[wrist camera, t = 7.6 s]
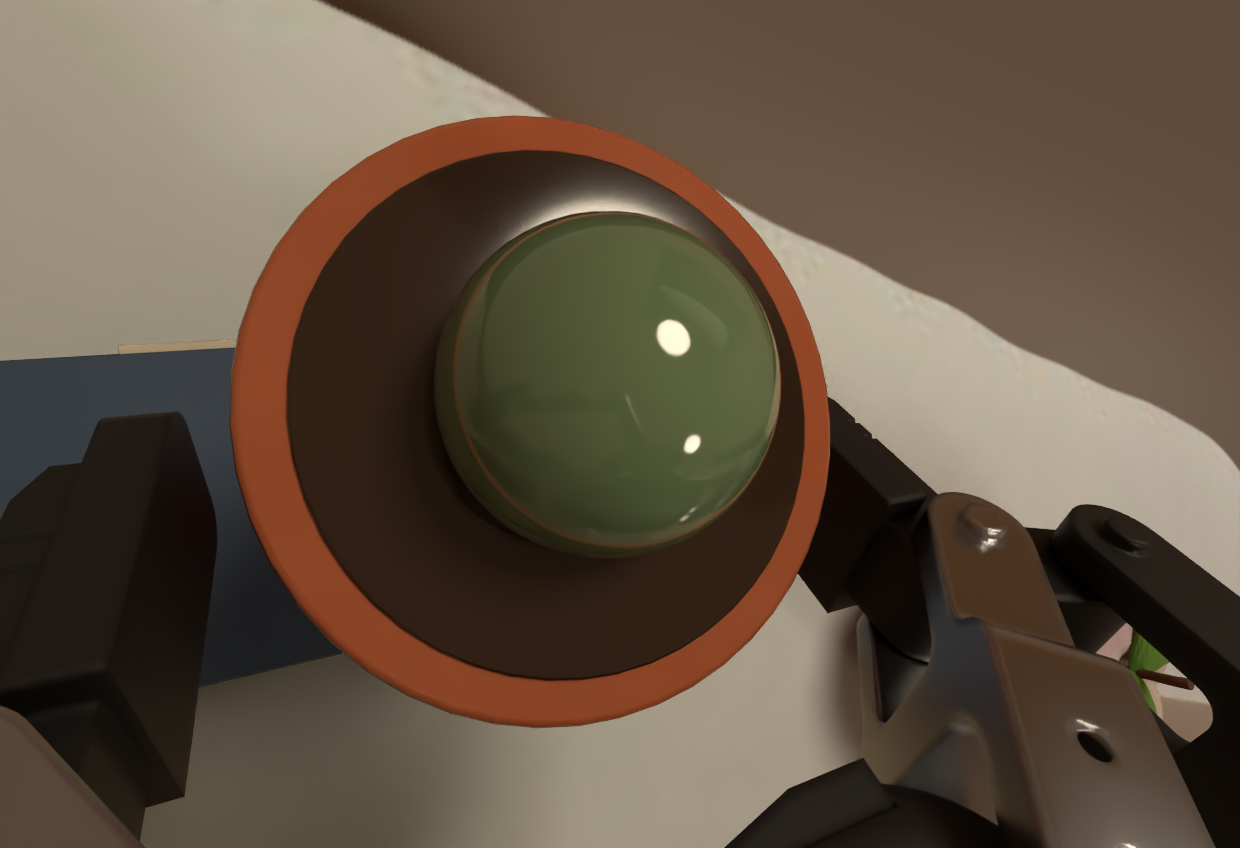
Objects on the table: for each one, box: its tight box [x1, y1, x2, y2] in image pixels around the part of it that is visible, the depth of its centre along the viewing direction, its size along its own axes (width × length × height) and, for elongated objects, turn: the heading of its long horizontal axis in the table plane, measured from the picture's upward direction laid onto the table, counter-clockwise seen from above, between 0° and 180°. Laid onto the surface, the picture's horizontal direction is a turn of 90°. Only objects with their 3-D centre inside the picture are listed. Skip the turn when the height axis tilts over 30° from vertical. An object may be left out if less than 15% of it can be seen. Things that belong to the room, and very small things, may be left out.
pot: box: [229, 116, 830, 728], centre depth 9 cm, size 6×6×12 cm
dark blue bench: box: [0, 339, 343, 687], centre depth 18 cm, size 20×7×7 cm, turn 101°
